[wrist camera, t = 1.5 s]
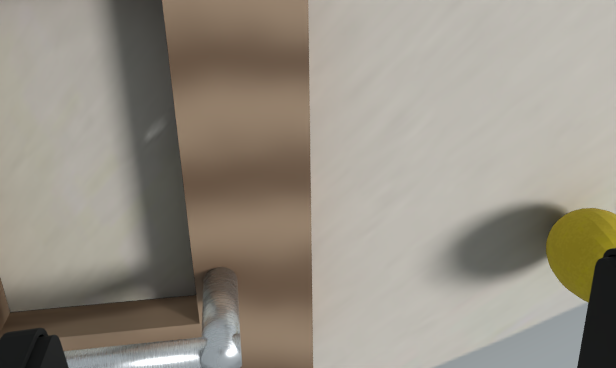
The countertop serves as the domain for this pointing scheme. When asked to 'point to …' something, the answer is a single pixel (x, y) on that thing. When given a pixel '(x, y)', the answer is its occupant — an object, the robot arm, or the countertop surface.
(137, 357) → the metal grab handle
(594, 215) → the lemon
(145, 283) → the countertop surface
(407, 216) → the countertop surface
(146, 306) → the wooden frame with handle
